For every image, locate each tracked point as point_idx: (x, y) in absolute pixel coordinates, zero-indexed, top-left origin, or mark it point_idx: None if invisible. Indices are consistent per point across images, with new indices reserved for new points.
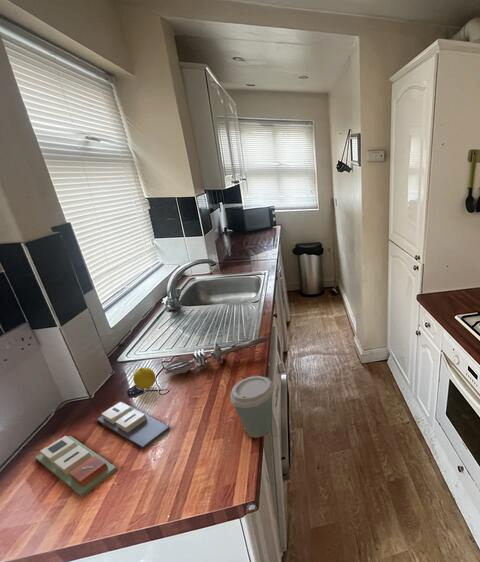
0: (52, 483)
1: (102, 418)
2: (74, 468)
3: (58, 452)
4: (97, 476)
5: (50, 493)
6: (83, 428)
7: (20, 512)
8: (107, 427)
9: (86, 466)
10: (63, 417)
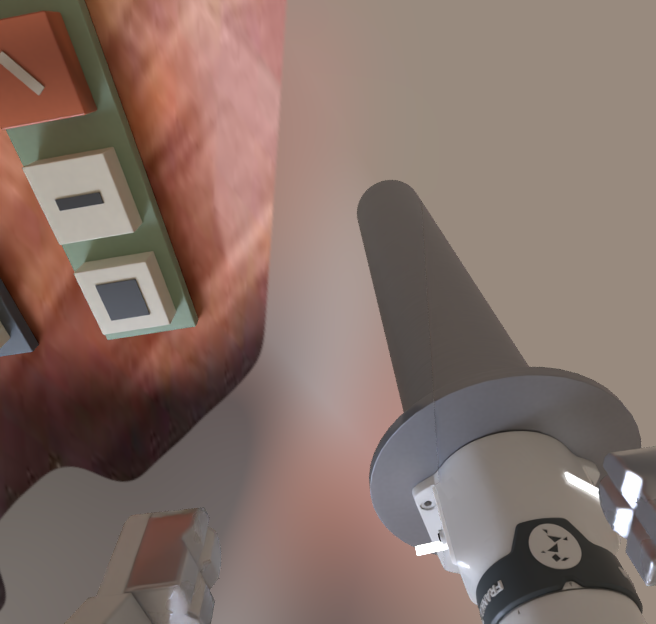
0: (164, 166)
1: (14, 339)
2: (87, 151)
3: (120, 266)
4: None
5: (170, 120)
6: (80, 349)
7: (246, 118)
8: (5, 288)
9: (26, 87)
10: (133, 441)
